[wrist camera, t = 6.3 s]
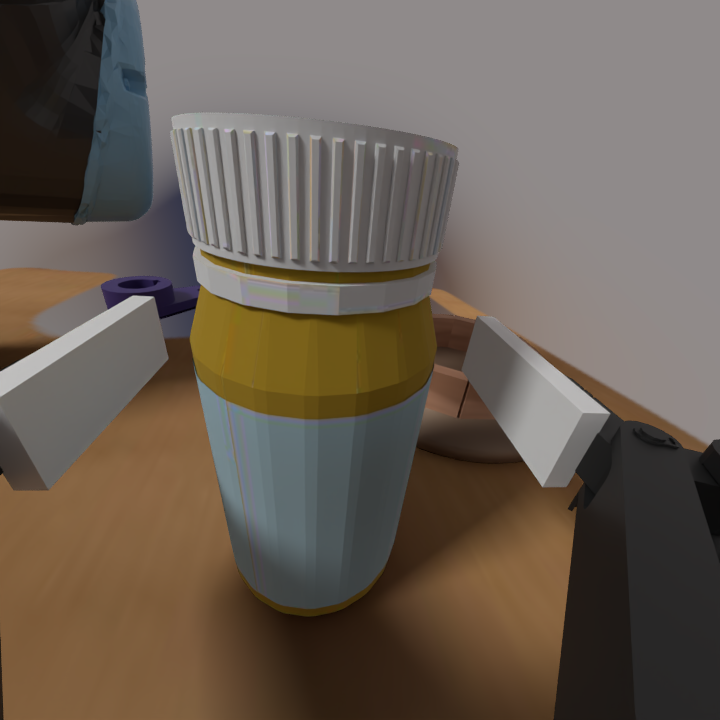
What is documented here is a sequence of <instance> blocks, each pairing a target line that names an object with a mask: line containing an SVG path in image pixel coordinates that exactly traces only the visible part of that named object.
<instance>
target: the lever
mask: <svg viewBox="0 0 720 720" xmlns="http://www.w3.org/2000/svg"><path fill="white" fill-rule="evenodd" d="M101 289H102V292H103V295H104V298H105V302H106V305H107V308H108V310H109V309H110V308H112V307H114V306H116V305H117V304H119V303H121V302H122V301H124V300H126V299H128V298H129V297H131V296H150V297H154V298H155V302H156V306H157V311H158V315H159V319H164V318H167V317H170V316H173V315H177V314H180V313H183V312H187V311H190V310H193V309H196V305H197V301H198V296H199V291H200V286H192V287H183V288H174V289H173V286H172V282H171V281H170V280H169V279H166V278H162V277H154V276H135V277H134V276H133V277H124V278H118V279H113V280H110V281H107V282H105V283H103V284H102V285H101Z"/></svg>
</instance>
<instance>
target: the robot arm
mask: <svg viewBox="0 0 720 720" xmlns="http://www.w3.org/2000/svg"><path fill="white" fill-rule="evenodd" d="M146 88H147V85H146V76H145V57H144V47H143V38H142V30H141V23H140V16H139V10H138V5H137V2H136V0H0V220H8V221H35V222H36V221H37V222H62V223H71V224H72V225H79V224H80V225H83V224H85V223H86V222H106V221H107V222H108V221H109V222H110V221H111V222H112V221H133V220H136V219H139V218H140V217H142V216H143V215H144V214H146V213H147V212H148V210H149V209H150V207H151V205H152V200H153V159H152V142H151V127H150V115H149V105H148V98H147V95H146ZM168 359H169V358H168V354H167V350H166V345H165V341H164V337H163V332H162V328H161V324H160V319H159V315H158V311H157V306H156V302H155V298H154V297H150V296H131V297H129V298H128V299H126V300H124V301H122V302H121V303H119V304H117V305H116V306H114V307H112V308H110V309H109V310H107V311H105V312H103V313H102V314H100V315H98V316H96V317H95V318H93V319H91V320H90V321H88V322H86V323H84V324H83V325H81V326H79V327H77V328H76V329H74V330H72V331H70V332H69V333H67V334H65V335H63V336H62V337H60V338H58V339H56V340H55V341H53V342H51V343H49V344H48V345H46V346H44V347H43V348H41V349H39V350H37V351H36V352H34V353H32V354H30V355H29V356H27V357H25V358H23V359H20V360H17V361H16V362H14V363H12V364H10V365H9V366H7V367H5V368H3V369H2V370H0V475H1V474H2V473H3V475H4V476H5V478H6V479H7V481H8V482H9V484H10V485H11V487H12V488H13V490H49V489H50V488H51V487H52V486H53V485H54V484H55V483H56V482H57V481H58V479H59V478H60V477H61V476H62V475H63V474H64V473H65V472H66V471H67V470H68V468H69V467H70V466H71V465H72V464H73V463H74V462H75V461H76V460H77V459H78V458H79V456H80V455H81V454H82V453H83V452H84V451H85V450H86V449H87V448H88V447H89V446H90V444H91V443H92V442H93V441H94V440H95V439H96V438H97V437H98V436H99V435H100V433H101V432H102V431H103V430H104V429H105V428H106V427H107V426H108V425H109V424H110V423H111V421H112V420H113V419H114V418H115V417H116V416H117V415H118V414H119V413H120V412H121V411H122V409H123V408H124V407H125V406H126V405H127V404H128V403H129V402H130V401H131V400H132V398H133V397H134V396H135V395H136V394H137V393H138V392H139V391H140V390H141V389H142V388H143V386H144V385H145V384H146V383H147V382H148V381H149V380H150V379H151V378H152V377H153V376H154V374H155V373H156V372H157V371H158V370H159V369H160V368H161V367H162V366H163V365H164V363H165V362H166V361H167V360H168ZM462 372H463V373H464V375H465V376H466V377H467V379H468V380H469V382H470V383H471V385H472V386H473V388H474V389H475V390H476V392H477V393H478V395H479V396H480V398H481V399H482V400H483V402H484V403H485V405H486V406H487V408H488V409H489V411H490V412H491V413H492V415H493V416H494V418H495V419H496V421H497V422H498V424H499V425H500V426H501V428H502V429H503V431H504V432H505V434H506V435H507V437H508V438H509V439H510V441H511V442H512V444H513V445H514V447H515V448H516V450H517V451H518V452H519V454H520V455H521V457H522V458H523V460H524V461H525V463H526V464H527V465H528V467H529V468H530V470H531V471H532V473H533V474H534V476H535V477H536V478H537V480H538V481H539V483H540V484H541V486H542V487H567V485H568V484H569V482H570V480H571V479H572V477H573V475H574V474H575V472H576V473H577V474H578V475H579V476H580V478H581V479H582V480H583V481H584V483H583V485H582V487H581V488H580V490H579V491H578V493H577V495H576V496H575V498H574V499H573V501H572V502H571V504H570V506H569V508H568V509H569V510H571V511H572V510H573V509H574V507H577V511H576V520H575V529H574V538H573V548H572V557H571V566H570V575H569V584H568V593H567V602H566V612H565V621H564V630H563V639H562V648H561V657H560V666H559V676H558V685H557V694H556V703H555V712H554V720H720V439H719V440H714V441H713V442H712V443H711V444H710V445H709V447H708V448H707V449H706V450H705V451H704V453H702V452H697V451H693V450H688V449H684V448H683V447H682V446H681V444H680V443H679V442H678V441H677V440H676V439H674V438H673V437H672V436H670V435H669V434H667V433H665V432H664V431H662V430H660V429H658V428H656V427H653V426H651V425H649V424H645V423H641V422H638V421H625V422H624V421H623V420H622V419H621V418H619V417H618V416H617V415H616V414H615V413H613V412H612V411H611V410H610V409H608V408H607V407H606V406H605V405H603V404H602V403H601V402H600V401H599V400H597V399H596V398H593V396H592V395H591V394H590V393H589V392H588V391H586V390H584V388H583V387H581V386H580V385H579V384H578V383H577V382H575V381H574V380H573V379H571V378H569V377H568V376H566V375H564V374H562V373H561V372H560V371H559V370H557V369H556V368H555V367H554V366H553V365H551V364H550V363H549V362H548V361H547V360H545V359H544V358H543V357H542V356H540V355H539V354H538V353H537V352H536V351H534V350H533V349H532V348H531V347H530V346H528V345H527V344H526V343H525V342H524V341H522V340H521V339H520V338H519V337H518V336H516V335H515V334H514V333H513V332H512V331H510V330H509V329H508V328H507V327H506V326H504V325H503V324H502V323H501V322H499V321H498V320H497V319H496V318H495V317H489V316H477V318H476V321H475V325H474V328H473V332H472V335H471V339H470V342H469V346H468V349H467V353H466V356H465V360H464V363H463V367H462ZM0 720H3V694H2V667H1V639H0Z"/></svg>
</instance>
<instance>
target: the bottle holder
mask: <svg viewBox="0 0 720 720" xmlns="http://www.w3.org/2000/svg"><path fill="white" fill-rule="evenodd" d="M432 317H433V324H434V330H435V336H436V342H437V350H436V355H435V359H434V369H433V374H432V378H431V383H430V387H429V391H428V396H427V400H426V404H425V409H424V413H423V418H422V422H421V426H420V431H419V435H418V439H417V444H416V447H418V448H420V449H423V450H426V451H429V452H432V453H435V454H438V455H442V456H446V457H450V458H454V459H458V460H465V461H472V462H479V463H513V462H519V461H524V460H523V458H522V457H521V455H520V454H519V452H518V451H517V450H516V448H515V447H514V445H513V444H512V442H511V441H510V439H509V438H508V437H507V435H506V434H505V432H504V431H503V429H502V428H501V426H500V425H499V424H498V422H497V421H496V419H495V418H494V416H493V415H492V413H491V412H490V411H489V409H488V408H487V406H486V405H485V403H484V402H483V400H482V399H481V398H480V396H479V395H478V393H477V392H476V390H475V389H474V388H473V386H472V385H471V383H470V382H469V380H468V379H467V377H466V376H465V375H464V373H463V372H462V367H463V363H464V360H465V356H466V353H467V349H468V346H469V342H470V339H471V335H472V332H473V328H474V325H475V321H476V320H473V319H469V318H464V317H460V316H456V315H455V316H453V315H444V314H432ZM516 336H517V335H516ZM519 338H520V339H521V340H522V341H524V340H523V339H522V338H521V337H519ZM524 342H525V343H526V344H527V345H528V346H530V347H531V348H532V349H533V350H534V351H536V352H537V353H538V354H539V355H540V356H541V354H540V353H539V352H538V351H537V350H535V349H534V348H533V347H532V346H531V345H529V344H528V343H527V342H526V341H524Z"/></svg>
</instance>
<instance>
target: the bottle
mask: <svg viewBox="0 0 720 720" xmlns="http://www.w3.org/2000/svg"><path fill="white" fill-rule="evenodd" d="M172 124H173V130H172V131H171V132H170V136H171V140H172V146H173V152H174V158H175V163H176V169H177V175H178V180H179V185H180V192H181V197H182V203H183V208H184V213H185V219H186V225H187V231H188V233H189V234H190V235H191V236H192V239H193V243H194V245H196V246H195V248H194V253H193V259H194V265H195V270H196V276H197V281H198V282H199V283H200V284H201V286H200V291H199V296H198V301H197V305H196V310H195V315H194V320H193V324H192V329H191V334H190V344H191V349H192V353H193V364H194V369H195V374H196V379H197V383H198V388H199V393H200V397H201V402H202V407H203V412H204V416H205V421H206V426H207V431H208V435H209V440H210V445H211V450H212V454H213V459H214V464H215V469H216V473H217V478H218V483H219V487H220V492H221V497H222V502H223V506H224V511H225V516H226V521H227V525H228V530H229V535H230V540H231V544H232V548H233V553H234V557H235V561H236V564H237V567H238V571H239V573H240V576H241V578H242V579H243V581H244V582H245V584H246V585H247V586H248V588H249V589H250V591H251V592H252V593H253V595H255V596H256V597H257V598H258V599H259V600H260V601H262V602H264V603H265V604H267V605H269V606H270V607H272V608H274V609H275V610H277V611H280V612H282V613H286V614H293V615H299V616H306V617H309V616H318V615H323V614H327V613H332V612H336V611H339V610H341V609H344V608H345V607H347V606H349V605H350V604H352V603H353V602H355V601H356V600H358V599H360V598H361V597H363V596H364V595H365V594H366V593H367V592H368V591H369V590H370V589H371V588H372V586H373V585H374V584H375V582H376V581H377V580H378V579H379V577H380V576H381V575H382V573H383V571H384V569H385V567H386V564H387V561H388V558H389V556H390V553H391V550H392V547H393V544H394V540H395V536H396V531H397V527H398V523H399V518H400V514H401V510H402V505H403V501H404V496H405V492H406V488H407V483H408V479H409V474H410V470H411V466H412V461H413V457H414V453H415V448H416V444H417V439H418V435H419V431H420V426H421V422H422V418H423V413H424V409H425V404H426V400H427V396H428V391H429V387H430V383H431V378H432V374H433V369H434V359H435V355H436V350H437V342H436V336H435V330H434V324H433V317H432V311H431V305H430V298H429V295H431V291H432V286H433V281H434V276H435V270H436V265H437V263H436V262H435V261H434V260H436V258H437V256H438V252H440V251H441V249H442V246H443V241H444V236H445V231H446V225H447V221H448V215H449V211H450V206H451V200H452V195H453V191H454V186H455V180H456V176H457V170H458V165H459V162H458V161H457V160H456V159H457V153H458V148H457V147H456V146H454V145H452V144H450V143H446V142H444V141H441V140H437V139H433V138H429V137H425V136H421V135H416V134H411V133H406V132H401V131H394V130H389V129H383V128H376V127H371V126H363V125H357V124H349V123H342V122H334V121H325V120H316V119H306V118H297V117H285V116H273V115H258V114H241V113H189V114H180V115H176V116H174V117H172Z"/></svg>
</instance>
